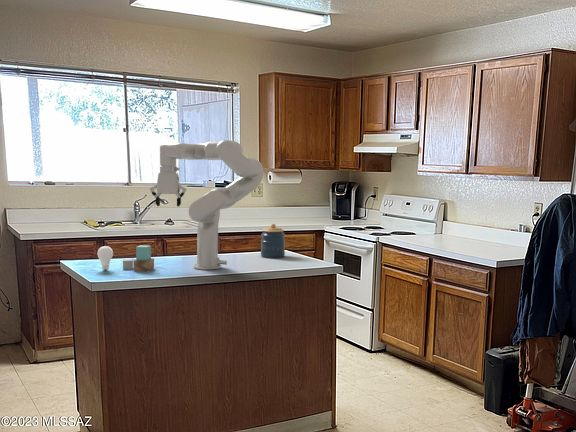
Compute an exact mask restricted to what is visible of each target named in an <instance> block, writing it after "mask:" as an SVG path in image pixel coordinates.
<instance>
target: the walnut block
mask: <svg viewBox="0 0 576 432" xmlns="http://www.w3.org/2000/svg"><path fill="white" fill-rule="evenodd" d="M154 269H155V258H154V257H153V258H152V257H151V259H149V260H136V259H133V271H134V272H147V271H149V272H151V271H153V270H154Z"/></svg>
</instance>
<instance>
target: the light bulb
mask: <svg viewBox="0 0 576 432" xmlns="http://www.w3.org/2000/svg"><path fill="white" fill-rule="evenodd" d="M113 256H114V251H113V249H112V248H111V247H110V246H108V245H104V246H101V247H99V248H98V250H97V257H98V260H100V261H99V262H100V264H101V269H102V270H103V271H104V272H105V271H108V270H109V268H110V262H111V260H112V258H113Z"/></svg>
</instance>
